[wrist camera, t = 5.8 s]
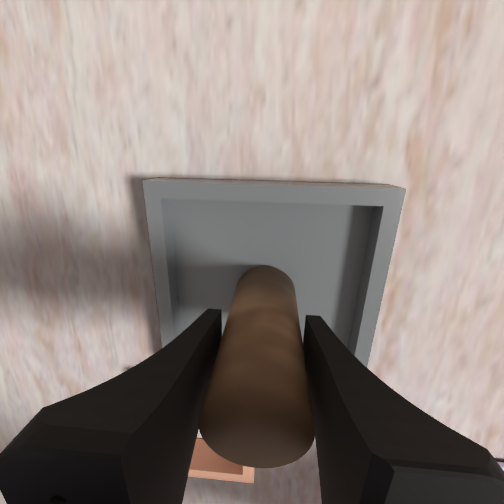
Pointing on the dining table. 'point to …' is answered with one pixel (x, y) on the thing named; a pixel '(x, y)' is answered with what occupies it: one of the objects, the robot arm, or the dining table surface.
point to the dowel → (260, 377)
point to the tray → (273, 248)
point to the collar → (217, 466)
